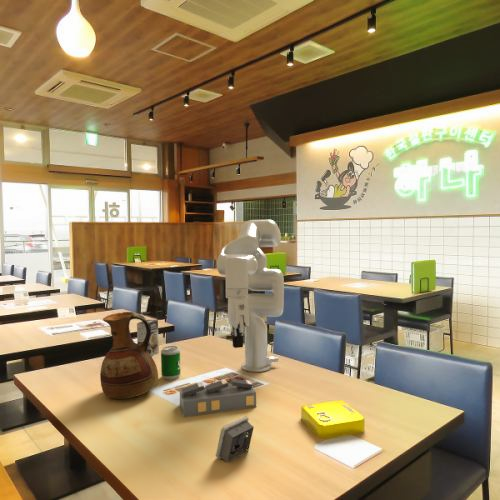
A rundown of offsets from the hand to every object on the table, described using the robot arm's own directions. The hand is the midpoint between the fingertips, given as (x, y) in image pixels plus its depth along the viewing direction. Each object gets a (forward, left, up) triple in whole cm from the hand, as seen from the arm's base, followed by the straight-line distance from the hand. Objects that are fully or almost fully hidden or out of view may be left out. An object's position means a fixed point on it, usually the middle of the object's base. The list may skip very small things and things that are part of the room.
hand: (237, 346), depth 143 cm
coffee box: (+26, -68, -20) cm, 76 cm away
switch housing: (+7, 0, -19) cm, 21 cm away
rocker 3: (-1, 0, -14) cm, 14 cm away
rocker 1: (+15, 0, -14) cm, 20 cm away
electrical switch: (+9, +32, -20) cm, 38 cm away
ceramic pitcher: (+35, -21, -20) cm, 46 cm away
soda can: (+19, -33, -20) cm, 43 cm away
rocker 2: (+7, 0, -14) cm, 15 cm away
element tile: (-23, +24, -20) cm, 39 cm away
